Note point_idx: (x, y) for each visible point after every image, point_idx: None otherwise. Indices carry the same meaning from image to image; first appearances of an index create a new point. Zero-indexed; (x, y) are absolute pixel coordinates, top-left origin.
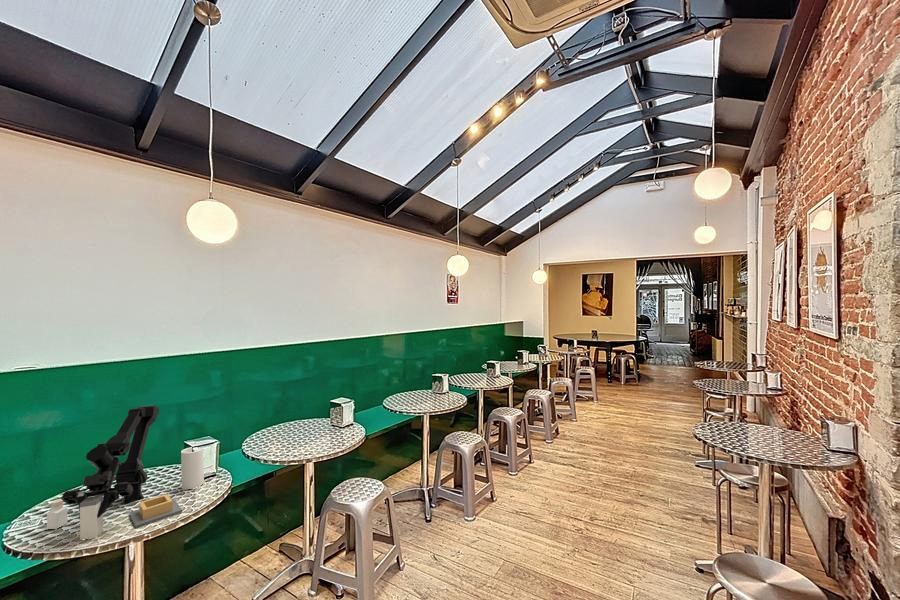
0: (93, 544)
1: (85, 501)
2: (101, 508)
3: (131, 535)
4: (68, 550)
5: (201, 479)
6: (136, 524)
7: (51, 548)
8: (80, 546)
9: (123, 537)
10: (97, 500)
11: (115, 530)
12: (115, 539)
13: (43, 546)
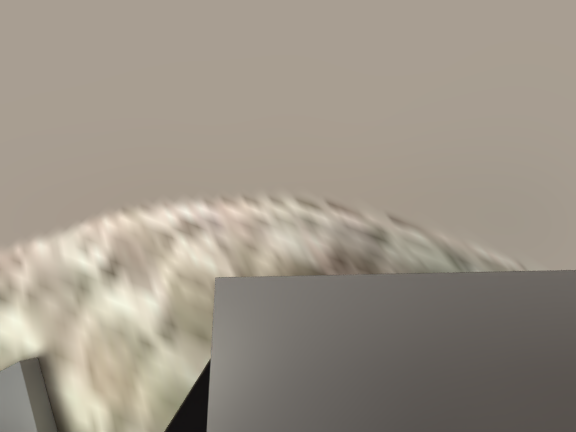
0: (238, 228)
1: (571, 384)
2: (202, 391)
3: (49, 256)
4: (339, 212)
5: None
6: (13, 378)
7: (449, 270)
8: (299, 232)
9: (93, 248)
10: (214, 386)
11: (172, 380)
12: (134, 241)
13: None
